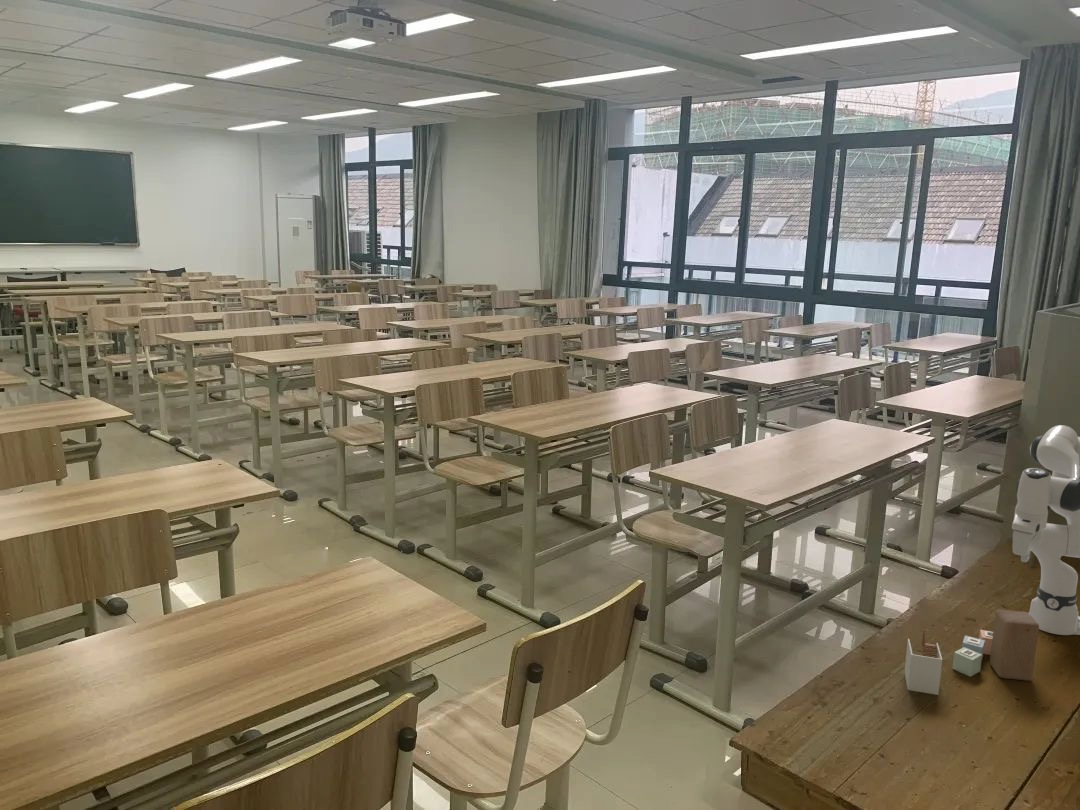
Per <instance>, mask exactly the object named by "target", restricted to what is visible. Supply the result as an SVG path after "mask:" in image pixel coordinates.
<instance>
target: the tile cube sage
mask: <svg viewBox="0 0 1080 810" xmlns="http://www.w3.org/2000/svg"><path fill="white" fill-rule="evenodd" d="M981 660H982V661H983V658H982V654H979V653H977V652H975V651H972V650H970V649H967V648H965V647H963V648H962V647H961V648H959V649H958V650H956V651H954V653H953V660H952V670H955V671H956V672H958V673H961V674H963V675H966V676H968V677H973V676H974V675H976V674H978V673H979V672H981V668H982V661H981Z"/></svg>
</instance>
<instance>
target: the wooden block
mask: <svg viewBox="0 0 1080 810" xmlns="http://www.w3.org/2000/svg"><path fill="white" fill-rule="evenodd" d="M994 616H995V617H994V624H993V631H992V632H993V639H992V646H991V654H990V655H989V664H990V666H991V668H992V669H993V670H994V671H995V673H996V675H997V676H998V678H1002V679H1008V680H1009V679H1011V680H1021V681H1032V680H1033V674H1034V667H1035V660H1036V652H1037V645H1038V637H1039V631H1040V629H1039V624H1038V623H1037V622H1036V621H1035V620H1034V619H1033V618H1032V616H1031V615H1030V614H1029V612H1027V611H1021V610H1020V611H1019V610H1008V609H1007V610H1006V609H997V610H996V611H995V615H994Z"/></svg>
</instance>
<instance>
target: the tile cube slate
mask: <svg viewBox="0 0 1080 810" xmlns="http://www.w3.org/2000/svg"><path fill="white" fill-rule="evenodd" d="M984 644H985V640H981V639H979V638H977V637H972V636H969V635H964V638H963V640H962V644H961V648H963V647H965V648H967V649H970V650H972V651H975V652H977V653H979V654H982V660H981V662H982V661H983V659H984V658H983V657H984V654H983V652H984Z"/></svg>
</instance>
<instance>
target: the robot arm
mask: <svg viewBox="0 0 1080 810" xmlns="http://www.w3.org/2000/svg"><path fill="white" fill-rule="evenodd" d="M1032 439H1033V438H1032ZM1029 454H1030V457H1031V460H1032V461H1034V463H1036V464H1039V465H1042V467H1044V468H1045V469H1043V468H1039V467H1029V468H1025V469H1024V470H1023V471H1022V472H1021V475H1020V478H1018V479H1017V483H1016V490H1015V495H1016V497H1017V503H1016V505H1015V508H1014V516H1013V521H1012V523H1011V525H1012V526H1011V529H1012V530H1013V533H1012V553H1013V554H1014V555H1016V556H1020V562H1022V563H1027V562H1028V561H1029V560H1030V557H1031V552H1032V553H1033V554H1034V555H1035V556H1036V558H1037V560H1038V562H1039V564H1040V583H1039V586H1038V587H1037V591H1036V592H1037V594H1036V597H1034V598H1033V599H1031V602H1030V606H1029V607H1030V608H1029V611H1028V613H1029V614H1030V615H1031V616H1032V618H1033V619H1034V620H1035V621H1036V622H1037V623H1038V624H1039V631H1043V632H1045V633H1050V634H1054V635H1061V636H1073V635H1074V636H1080V615H1079V613H1080V611H1078V609H1079V608H1078V605H1077V600H1078V597H1077V588H1078V580H1079V575H1078V572H1077V571H1076V569H1075V568H1074V567H1072V566H1070V565H1069V564H1068V563H1066V562H1064V561H1062V560H1061V558H1062V557H1063V556H1064V557H1071V558H1078V559H1080V436H1078V434H1077V431H1076V430H1074V429H1073V428H1072V427H1070V426H1068V425H1063V424H1062V425H1061V424H1059V425H1058V424H1057V425H1055V426H1053V427H1051V428H1049V429H1048V430H1047V431H1046V432H1045V433H1044V434H1043V435H1040V436H1039V435H1038V436H1036V437H1034V439H1033V440H1032V442H1031V445H1030V446H1029ZM1046 469H1047V470H1046ZM1048 470H1049V471H1051V473H1052V474H1051V473H1050V472H1049V471H1048ZM1048 507H1050V509H1051V510H1052V511H1053V512H1054V513H1055V514H1058V515H1059V516H1062V517H1063V518H1065V519H1066V524H1067V525H1066V524H1057V523H1056V524H1055V523H1049V522H1048V517H1049V516H1048V515H1049V510H1048Z"/></svg>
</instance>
